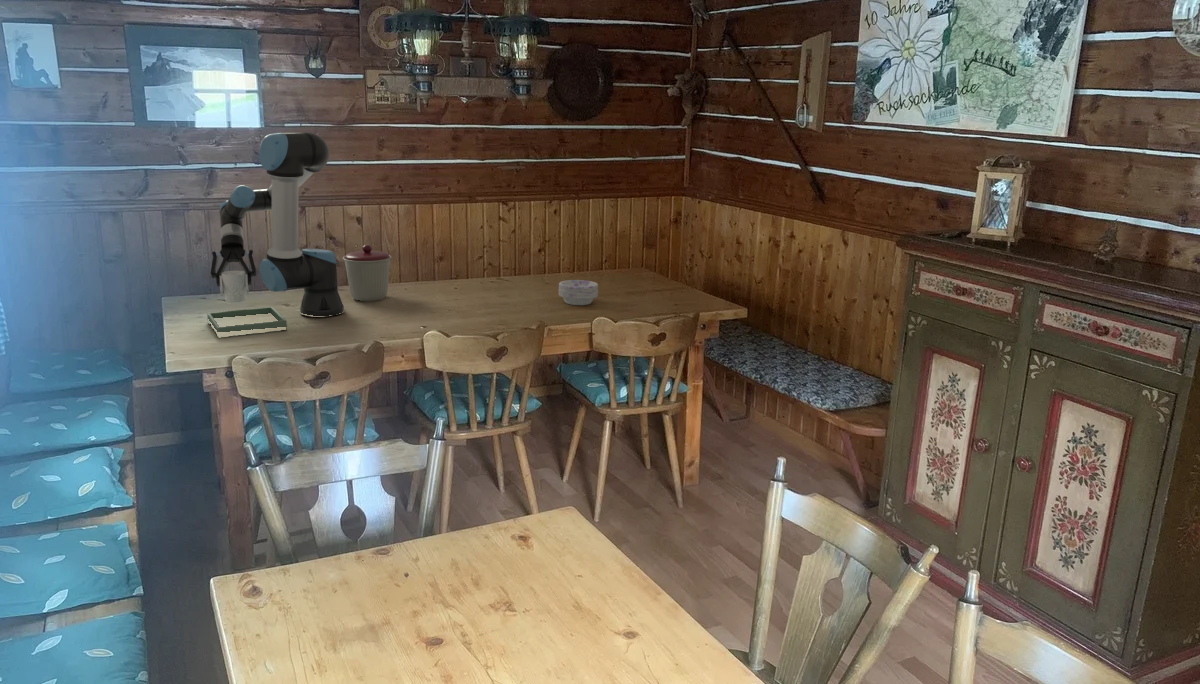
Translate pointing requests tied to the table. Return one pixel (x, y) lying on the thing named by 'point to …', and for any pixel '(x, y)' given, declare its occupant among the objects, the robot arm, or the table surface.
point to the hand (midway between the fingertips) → (234, 292)
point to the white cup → (234, 286)
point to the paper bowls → (578, 291)
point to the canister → (368, 273)
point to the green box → (266, 310)
